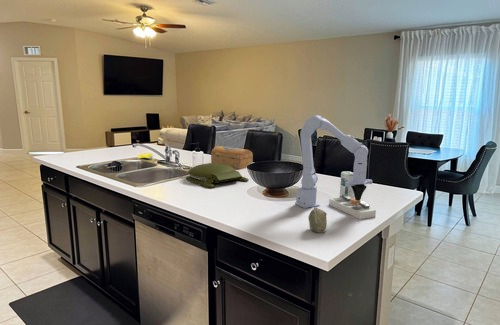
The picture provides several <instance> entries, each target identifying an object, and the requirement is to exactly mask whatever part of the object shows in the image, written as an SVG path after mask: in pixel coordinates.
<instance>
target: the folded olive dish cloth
mask: <svg viewBox="0 0 500 325" xmlns="http://www.w3.org/2000/svg"><path fill="white" fill-rule="evenodd" d="M187 174H188V175H189V176H186V177H185V180H186V181H188V182H191V183H194V184H196V185H199V186H202V187H204V188H206V189H214V188H215V184H218V183H223V182H228V181H229V182H230V181H234V180H235V181H238V182H239V181H240V182H244V183H246V182H248V181H249V179H250V178H248V177H245V176H242V174H241V173H240V172H239V171H238V170H237V169H234V168H233V167H231V166H228V165H224V164H217V163H211V162H210V163H204V164H198V165H195V166H192V167H191V168H190V169H189V170H188V171H187ZM200 178H202V179H203V178H204V179H206V180H202V179H200Z"/></svg>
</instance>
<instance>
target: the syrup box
mask: <svg viewBox="0 0 500 325" xmlns="http://www.w3.org/2000/svg"><path fill="white" fill-rule="evenodd" d="M351 180H353V172H352V171H348V170H347V171H346V170H345V171H341V173H340V184H339V186H340V187H339V197H338V198H340V197H342V195H345V194H346V195H348V196H349V197H351V198H352V199H355V196H354V192H353V189H352V187H351V186H349V187H347V186H345V182H347V181H351Z"/></svg>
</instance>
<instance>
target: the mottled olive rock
mask: <svg viewBox="0 0 500 325" xmlns="http://www.w3.org/2000/svg"><path fill="white" fill-rule="evenodd" d="M327 222H328V220H327V213H326V211H324V210H323V209H320V208H318V207H316V206H314V207H313V208H312V209H311V211H310V212H309V214H308V223H309V229H310V231H311V230H312V231H313V232H315V233H326V229H327V225H328V224H327Z"/></svg>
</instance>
